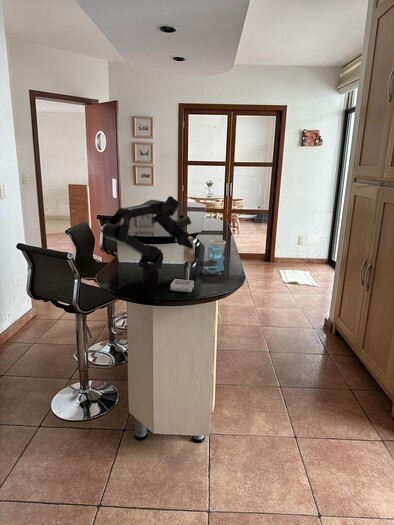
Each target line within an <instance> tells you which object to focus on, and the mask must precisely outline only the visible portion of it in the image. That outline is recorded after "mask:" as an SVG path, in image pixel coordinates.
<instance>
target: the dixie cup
mask: <svg viewBox="0 0 394 525" xmlns="http://www.w3.org/2000/svg"><path fill="white" fill-rule="evenodd" d="M226 243H227V242H226V240H222V239H212V240H210V241H209V247H210V246H216V247H218V248H220V249H222V250H225V245H226ZM214 254H217V252H215V253H214ZM219 254H220V255H222V252H221V251H219ZM210 255H213V252H212V251H211V250H210ZM211 261H212V262H213V261H214V262H216V260H211Z"/></svg>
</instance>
